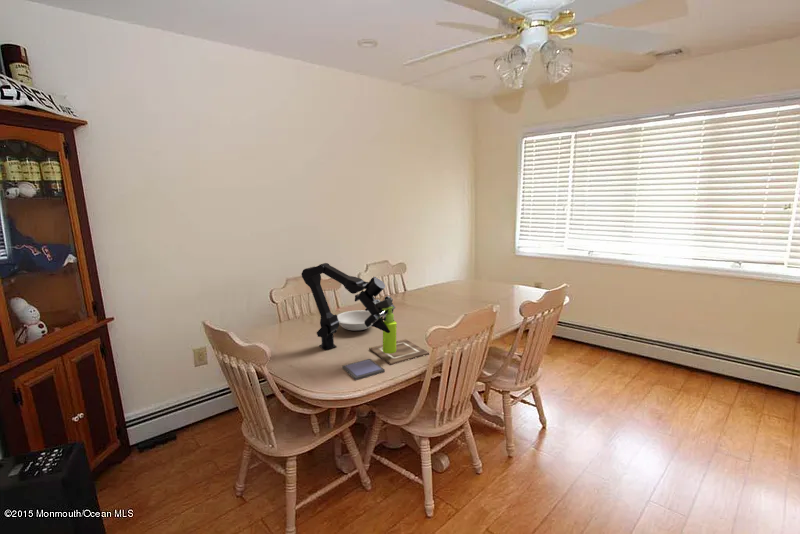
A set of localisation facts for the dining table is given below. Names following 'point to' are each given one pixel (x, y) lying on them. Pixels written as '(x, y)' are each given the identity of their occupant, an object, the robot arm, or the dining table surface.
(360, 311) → the soup bowl
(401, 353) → the board
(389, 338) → the soap dispenser
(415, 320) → the dining table surface
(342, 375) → the dining table surface
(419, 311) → the dining table surface
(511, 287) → the dining table surface
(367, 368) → the ink pad
